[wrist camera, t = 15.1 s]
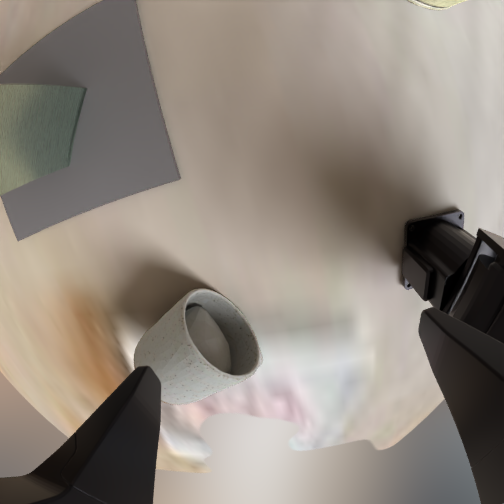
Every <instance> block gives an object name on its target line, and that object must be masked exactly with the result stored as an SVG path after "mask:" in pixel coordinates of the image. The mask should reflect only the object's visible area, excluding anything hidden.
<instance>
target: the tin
mask: <svg viewBox="0 0 504 504" xmlns="http://www.w3.org/2000/svg"><path fill="white" fill-rule="evenodd" d="M86 90H87V88H80V87H71V86H61V85H48V84H0V196H1V195H3V194H5V193H7V192H9V191H11V190H13V189H15V188H18V187H20V186H22V185H24V184H26V183H29V182H31V181H33V180H36V179H38V178H40V177H43V176H45V175H48V174H50V173H53V172H55V171H58V170H60V169H63V168H66V167H68V166H70V162H71V156H72V150H73V145H74V140H75V135H76V130H77V125H78V121H79V117H80V113H81V109H82V105H83V101H84V97H85V94H86Z"/></svg>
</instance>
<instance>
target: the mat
mask: <svg viewBox="0 0 504 504" xmlns="http://www.w3.org/2000/svg"><path fill="white" fill-rule="evenodd" d="M0 84H48V85H61V86H71V87H80V88H87V90H86V94H85V97H84V101H83V105H82V109H81V113H80V117H79V121H78V125H77V130H76V135H75V140H74V145H73V150H72V156H71V162H70V166H68V167H66V168H63V169H60V170H58V171H55V172H53V173H50V174H48V175H45V176H43V177H40V178H38V179H36V180H33V181H31V182H29V183H26V184H24V185H22V186H20V187H18V188H15V189H13V190H11V191H9V192H7V193H5V194H3V195H1V198H2V201H3V204H4V207H5V210H6V213H7V215H8V218H9V221H10V223H11V226H12V228H13V231H14V233H15V236H16V238H17V240H18V241H20V240H22V239H24V238H26V237H28V236H30V235H32V234H35V233H37V232H39V231H41V230H43V229H46V228H48V227H50V226H52V225H55V224H57V223H59V222H62V221H64V220H67V219H69V218H71V217H74V216H76V215H79V214H81V213H84V212H86V211H89V210H91V209H94V208H97V207H99V206H102V205H105V204H107V203H110V202H113V201H116V200H118V199H121V198H124V197H127V196H130V195H133V194H136V193H139V192H142V191H145V190H148V189H151V188H154V187H157V186H160V185H163V184H167V183H170V182H173V181H177V180H179V179H181V177H180V174H179V171H178V167H177V164H176V161H175V157H174V154H173V150H172V147H171V143H170V140H169V136H168V133H167V129H166V126H165V122H164V118H163V115H162V111H161V107H160V103H159V100H158V96H157V92H156V88H155V84H154V80H153V76H152V72H151V68H150V64H149V59H148V55H147V51H146V46H145V42H144V38H143V33H142V28H141V24H140V19H139V14H138V9H137V4H136V0H103V1H101V2H99V3H97V4H95V5H93V6H92V7H90V8H88V9H86V10H85V11H83V12H81V13H80V14H78V15H76V16H75V17H73V18H72V19H70V20H68V21H67V22H65V23H64V24H62V25H61V26H59V27H58V28H57V29H55V30H54V31H52V32H51V33H49V34H48V35H47V36H45V37H44V38H43V39H41V40H40V41H39V42H37V43H36V44H35V45H34V46H32V47H31V48H30V49H29V50H27V51H26V52H25V53H24V54H23V55H21V56H20V57H19V58H18V59H17V60H16V61H15V62H13V63H12V64H11V65H10V66H9V67H8V68H7V69H6V70H5V71H4V72H3V73H2V74H1V75H0Z"/></svg>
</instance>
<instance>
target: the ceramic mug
mask: <svg viewBox="0 0 504 504" xmlns="http://www.w3.org/2000/svg"><path fill="white" fill-rule="evenodd" d="M262 362H263V357H262V354H261V351H260V348H259V345H258V342H257V338H256V336H255V334H254V331H253V330H252V328H251V326H250V324H249V323H248V321H247V319H246V318H245V316H244V315H243V314H242V313H241V312H240V310H239V309H238V308H237V307H236V306H235V305H234V304H233V303H232V302H230V301H229V300H228V299H227V298H225V297H224V296H222V295H221V294H219V293H217V292H215V291H213V290H209V289H205V288H200V289H194V290H192V291H190V292H188V293H187V294H186V295H185V296H184V297H183V298H182V299H181V300H179V301H178V302H177V303H176V304H175V305H174V306H173V307H172V308H171V309H170V310H169V311H168V312H167V313H166V314H164V315H163V316H162V318H161V319H160V320H159V321H158V322H157V323H156V324H154V325H153V326H152V327H151V328H150V329H149V330H147V332H146V333H145V334H144V335H143V336H142V338H141V340H140V341H139V343H138V344H137V346H136V349H135V353H134V367H135V369H136V368H137V367H138V366H146V365H148V366H150V367H151V368H152V369H153V371H154V372H155V374H156V375H157V377H158V378H159V379H160V382H161V401H162V402H164V403H168V404H172V405H182V404H189V403H193V402H196V401H199V400H201V399H204V398H206V397H208V396H210V395H212V394H215V393H217V392H220V391H222V390H224V389H227V388H229V387H231V386H234V385H236V384H238V383H241V382H243V381H245V380H246V379H248V378H250V377H251V376H252V375H254V373H255V372H256V370H257V368H258V367H259V366H260V365H261V364H262Z"/></svg>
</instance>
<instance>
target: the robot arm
mask: <svg viewBox="0 0 504 504" xmlns="http://www.w3.org/2000/svg"><path fill="white" fill-rule="evenodd" d="M459 215H460V216H459ZM411 225H412V228H411V229H410V226H411ZM463 225H464V213H463V212H462V211H461V210H455V211H451V212H446V213H442V214H437V215H433V216H428V217H424V218H419V219H415V220H410V221H408V222H407V223H406V224H405V246H404V249H403V265H402V275H403V286H404V288H405V289H406V290H409V289H412V288H414V289H415V291H416V292H417V293H418V294H419V296H420V297H421V298H422V299H423V300H424V301H429V302H430V303H431V304H432V306H433V307H431V308H428V309H425V310H423V311H422V313H421V318H420V323H419V336H420V339H421V341H422V344H423V346H424V349H425V352H426V354H427V357H428V360H429V363H430V366H431V368H432V371H433V373H434V376H435V378H436V380H437V382H438V384H439V387H440V389H441V391H442V393H443V395H444V398H445V400H446V402H447V404H448V407H449V409H450V411H451V414H452V416H453V419H454V421H455V424H456V426H457V429H458V432H459V434H460V437H461V439H462V442H463V445H464V448H465V451H466V453H467V456H468V459H469V462H470V466H471V467H472V468H471V469H472V472H473V476H474V479H475V482H476V486H477V489H478V493H479V497H480V501H481V504H503V503H504V238H503V237H501V236H498V235H496V234H493V233H491V232H488V231H486V230H483V229H481V228H479V229H478V232H477V238H475V237H474V236H472V235H471V234H470V233H468V232H467V231H465V230H464V229H463ZM408 283H409V284H408ZM407 284H408V285H407ZM160 422H161V382H160V379H159V378H158V377H157V375H156V374H155V372H154V371H153V369H152V368H151V367H150V366H148V365H146V366H138V367H137V368H136V369H135V370H134V371H133V372H132V373H131V374H130V375H129V376H128V377H127V378H126V379H125V380H124V381H123V382H122V383H121V384H120V385H119V386H118V388H117V389H116V390H115V391H114V392H113V393H112V394H111V395H110V396H109V397H108V398H107V399H106V400H105V401H104V402H103V403H102V404H101V405H100V406H99V407H98V409H97V410H96V411H95V412H94V413H93V414H92V415H91V416H90V417H89V418H88V419H87V420H86V421H85V422H84V423H83V424H82V425H81V426H80V427H79V428H78V430H77V431H76V432H75V433H74V434H73V435H72V436H71V437H70V438H69V439H68V440H67V441H66V442H65V443H64V444H63V445H62V446H61V447H60V448H59V449H58V450H57V451H56V452H54V453H53V454H52V455H51V456H50V457H49V458H48V459H46V460H45V461H44V462H43V463H42V464H41V465H40V466H38V467H37V468H36V469H35V470H34V471H32V472H31V473H29V474H27V475H24V476H18V477H5V478H0V504H153V493H154V481H155V469H156V459H157V450H158V441H159V432H160Z"/></svg>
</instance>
